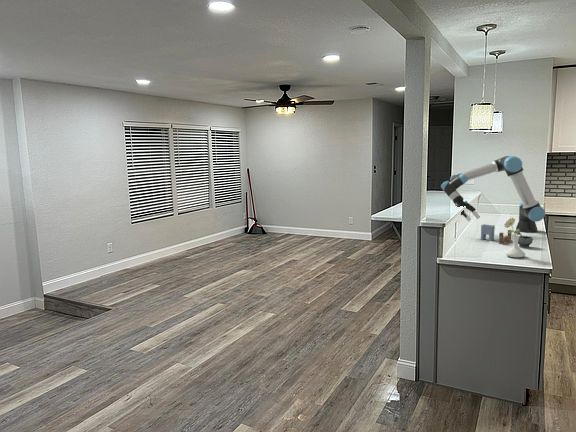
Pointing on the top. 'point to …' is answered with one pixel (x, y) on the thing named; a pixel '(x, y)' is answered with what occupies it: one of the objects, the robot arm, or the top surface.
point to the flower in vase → (515, 250)
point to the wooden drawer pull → (504, 238)
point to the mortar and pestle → (524, 241)
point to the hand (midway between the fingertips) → (474, 219)
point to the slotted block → (487, 232)
